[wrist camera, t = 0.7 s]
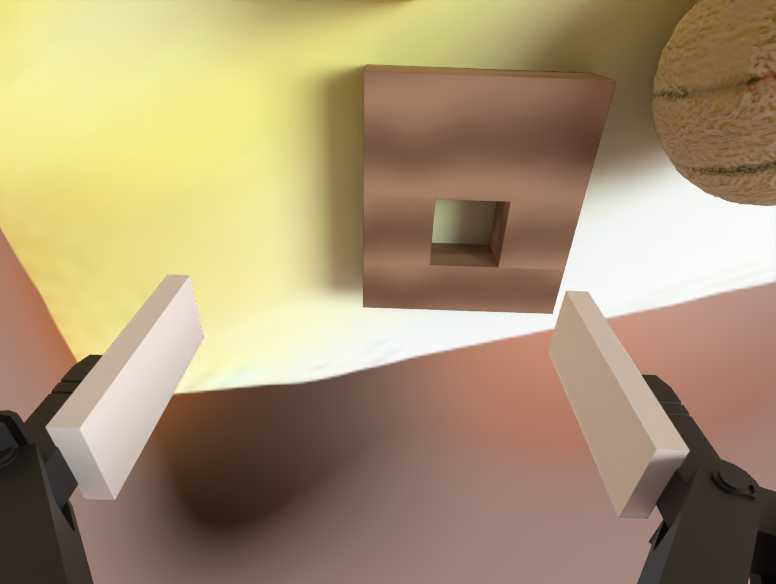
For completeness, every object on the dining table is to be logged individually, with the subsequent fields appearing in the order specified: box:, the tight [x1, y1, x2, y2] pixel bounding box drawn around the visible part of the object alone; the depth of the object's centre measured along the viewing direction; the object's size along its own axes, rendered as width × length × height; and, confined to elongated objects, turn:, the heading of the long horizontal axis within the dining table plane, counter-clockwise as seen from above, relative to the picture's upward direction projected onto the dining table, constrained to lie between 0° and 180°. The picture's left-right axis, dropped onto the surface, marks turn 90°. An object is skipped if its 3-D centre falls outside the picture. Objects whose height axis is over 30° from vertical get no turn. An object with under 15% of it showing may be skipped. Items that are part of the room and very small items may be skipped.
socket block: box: [363, 65, 616, 314], centre depth 36 cm, size 18×16×4 cm
